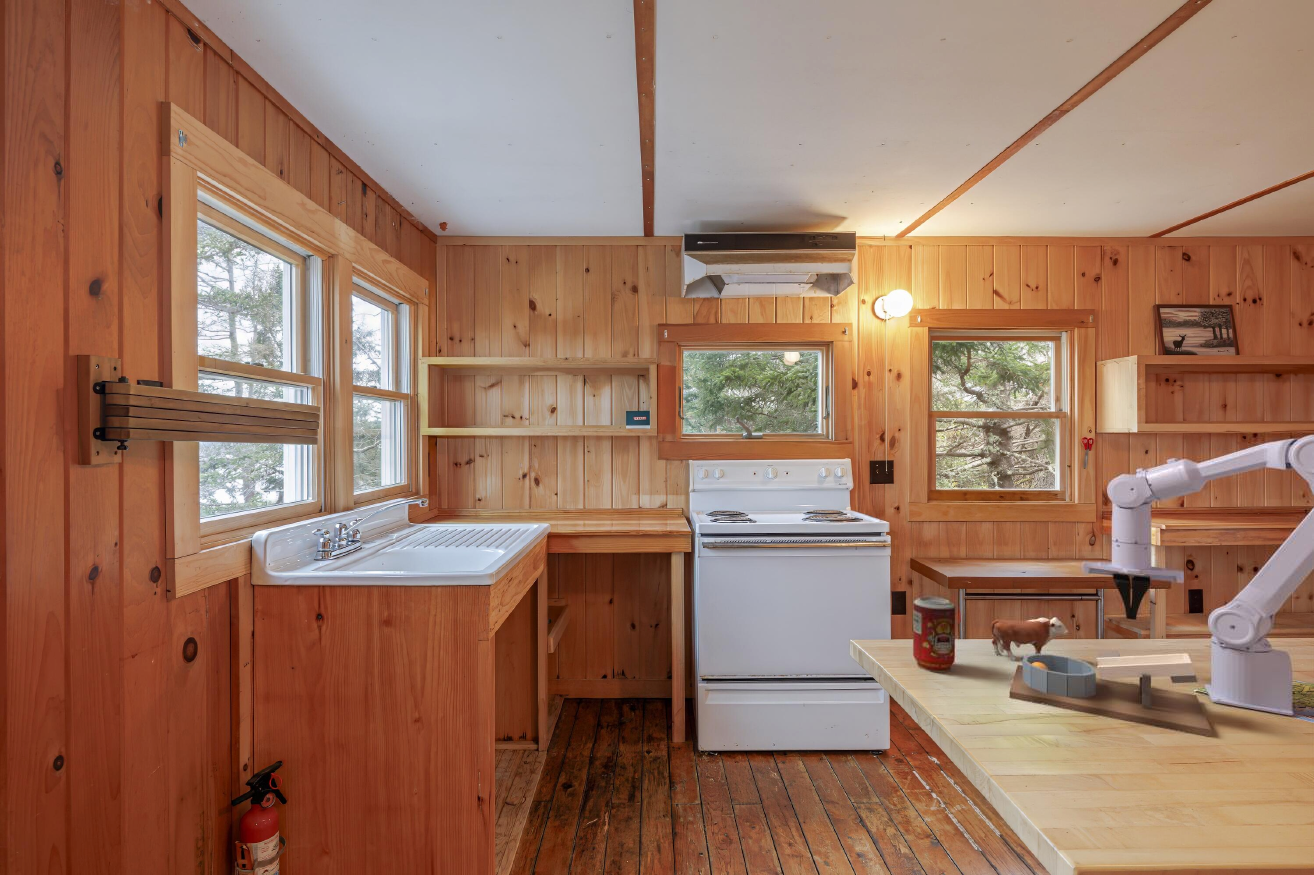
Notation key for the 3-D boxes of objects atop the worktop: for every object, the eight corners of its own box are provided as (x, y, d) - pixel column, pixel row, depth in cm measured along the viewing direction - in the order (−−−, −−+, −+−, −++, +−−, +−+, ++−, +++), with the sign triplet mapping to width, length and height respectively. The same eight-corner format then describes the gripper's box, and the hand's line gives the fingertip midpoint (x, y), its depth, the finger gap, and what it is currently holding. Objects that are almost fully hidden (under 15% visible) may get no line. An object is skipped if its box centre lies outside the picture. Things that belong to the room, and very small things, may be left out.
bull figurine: (1071, 664, 121) (1071, 620, 121) (992, 659, 124) (993, 616, 124) (1061, 657, 125) (1061, 614, 125) (986, 652, 128) (986, 610, 128)
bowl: (1095, 682, 109) (1095, 661, 109) (1095, 702, 101) (1096, 680, 101) (1025, 670, 115) (1025, 650, 115) (1020, 688, 107) (1020, 667, 107)
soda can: (929, 675, 115) (930, 605, 115) (905, 662, 122) (905, 596, 122) (963, 671, 117) (964, 603, 117) (937, 659, 124) (937, 594, 124)
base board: (1196, 701, 104) (1196, 663, 104) (1211, 737, 92) (1211, 694, 92) (1017, 670, 118) (1017, 637, 118) (1009, 697, 105) (1009, 660, 105)
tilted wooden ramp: (1186, 658, 107) (1181, 640, 108) (1198, 683, 96) (1191, 662, 97) (1100, 662, 114) (1095, 645, 114) (1102, 686, 103) (1096, 667, 103)
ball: (1050, 678, 110) (1048, 660, 110) (1050, 684, 107) (1047, 665, 108) (1030, 677, 112) (1027, 659, 112) (1029, 682, 109) (1026, 664, 109)
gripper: (1082, 541, 117) (1082, 616, 117) (1186, 548, 109) (1186, 630, 109) (1082, 536, 123) (1082, 608, 123) (1181, 543, 115) (1180, 620, 115)
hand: (1131, 618), depth 116 cm, fingers closed
